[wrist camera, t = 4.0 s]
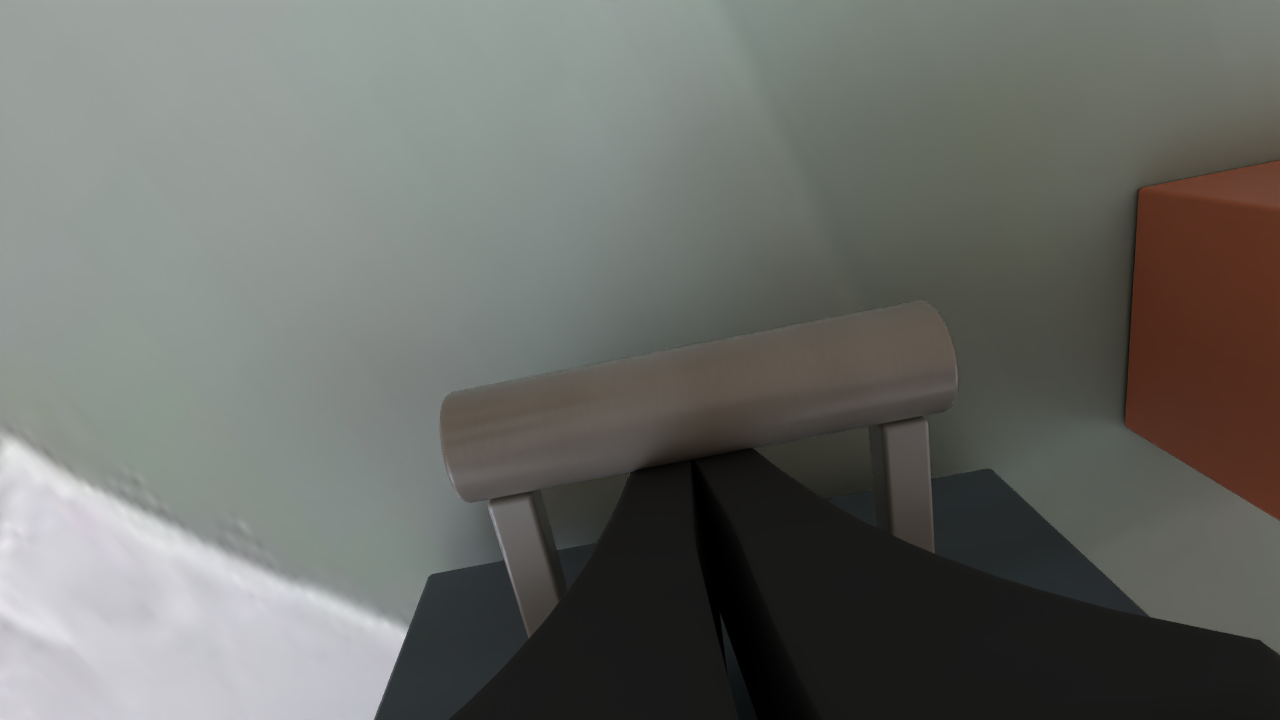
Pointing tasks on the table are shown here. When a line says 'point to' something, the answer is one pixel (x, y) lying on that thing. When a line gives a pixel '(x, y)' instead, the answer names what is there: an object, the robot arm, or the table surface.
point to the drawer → (700, 427)
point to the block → (1210, 327)
